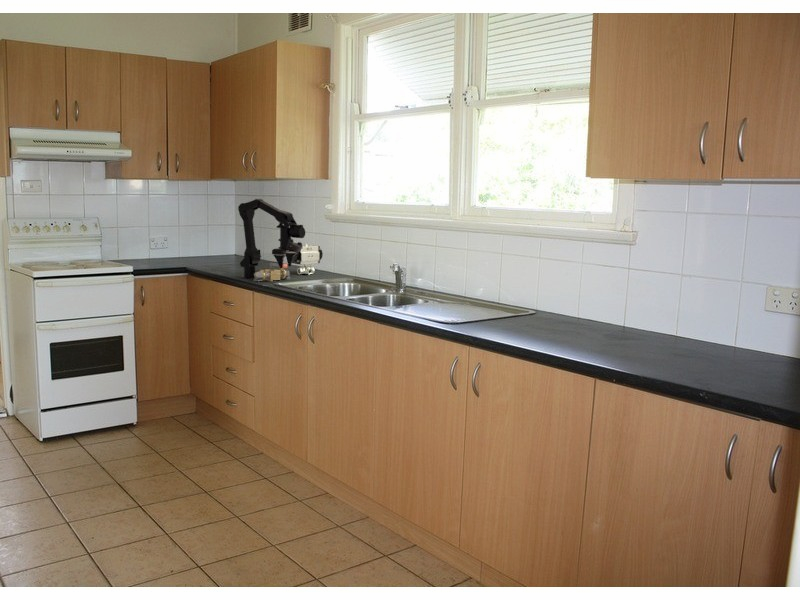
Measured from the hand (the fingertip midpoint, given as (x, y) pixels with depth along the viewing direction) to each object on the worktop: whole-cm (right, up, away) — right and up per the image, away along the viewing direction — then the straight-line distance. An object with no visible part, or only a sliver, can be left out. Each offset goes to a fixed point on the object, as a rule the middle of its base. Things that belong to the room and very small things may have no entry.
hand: (285, 267), depth 374 cm
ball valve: (+7, -3, +30) cm, 31 cm away
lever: (-4, -1, 0) cm, 4 cm away
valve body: (-8, -7, +4) cm, 11 cm away
